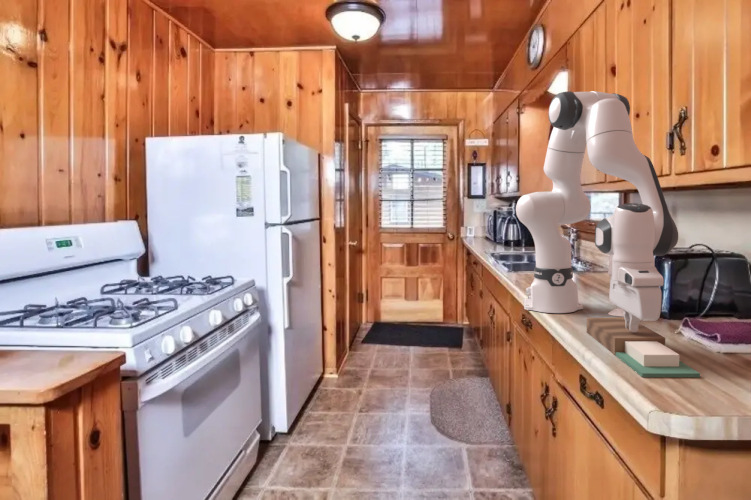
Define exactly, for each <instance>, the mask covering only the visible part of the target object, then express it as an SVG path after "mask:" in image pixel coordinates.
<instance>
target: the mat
mask: <svg viewBox="0 0 751 500" xmlns="http://www.w3.org/2000/svg"><path fill="white" fill-rule="evenodd" d="M615 356H616V357H617V359H619V360H620V359H621V360H620V361H622V362H623V363H624V362H625V363H626V364H627V366H628V367H629V368H630V367H631V368H632V370H633V371H634V372H635V371H636V372H637V373H636V372H635V373H636V374H637V375H639V376H640V377H641V378H701V373H700V372H699V371H697V370H695V369H694V368H693V367H691V366H689V365H688V364H686V363H684V362H683V361H681V360H679V366H643V365H641V364H640V363H639V362H637V361H636V360H635V359H633V358H632V357H631V356H629V355H628V354H627V353H625V352H616V355H615ZM625 363H624V364H625ZM626 364H625V365H626ZM631 368H630V369H631Z"/></svg>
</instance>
